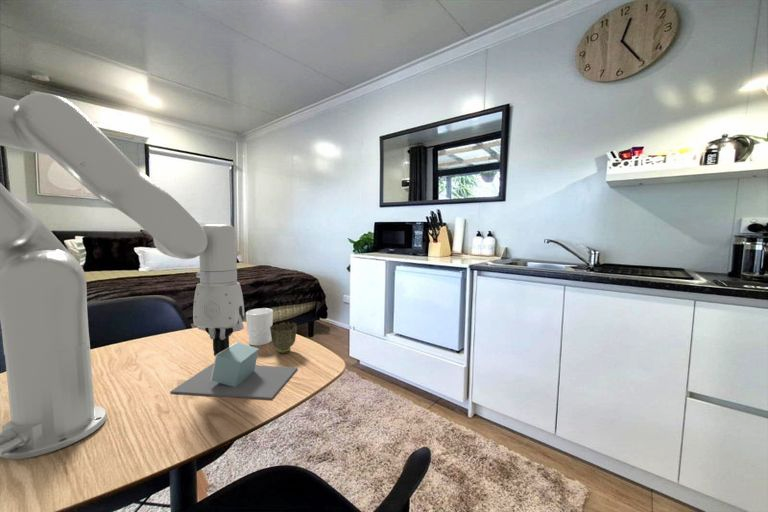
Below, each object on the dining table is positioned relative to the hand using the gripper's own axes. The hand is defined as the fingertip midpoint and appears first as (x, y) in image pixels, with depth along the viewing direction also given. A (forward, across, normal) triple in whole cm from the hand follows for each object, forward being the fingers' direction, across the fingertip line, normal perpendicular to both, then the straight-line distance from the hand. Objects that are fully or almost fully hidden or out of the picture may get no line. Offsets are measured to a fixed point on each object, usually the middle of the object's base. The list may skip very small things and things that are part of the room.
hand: (221, 353), depth 71 cm
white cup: (+6, -3, +24) cm, 25 cm away
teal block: (+1, +1, 0) cm, 2 cm away
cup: (+6, +8, +17) cm, 20 cm away
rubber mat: (+6, +4, 0) cm, 7 cm away
